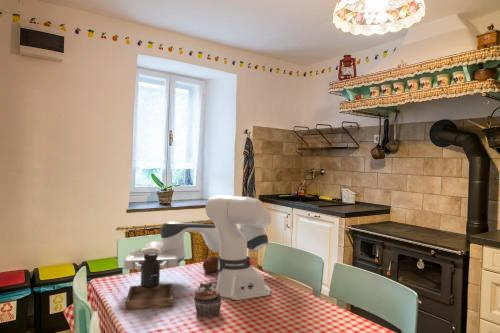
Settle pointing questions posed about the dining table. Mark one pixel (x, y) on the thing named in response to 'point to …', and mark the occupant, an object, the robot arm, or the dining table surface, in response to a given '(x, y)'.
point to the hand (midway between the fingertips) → (150, 267)
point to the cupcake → (207, 301)
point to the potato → (211, 264)
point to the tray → (149, 297)
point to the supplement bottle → (150, 270)
